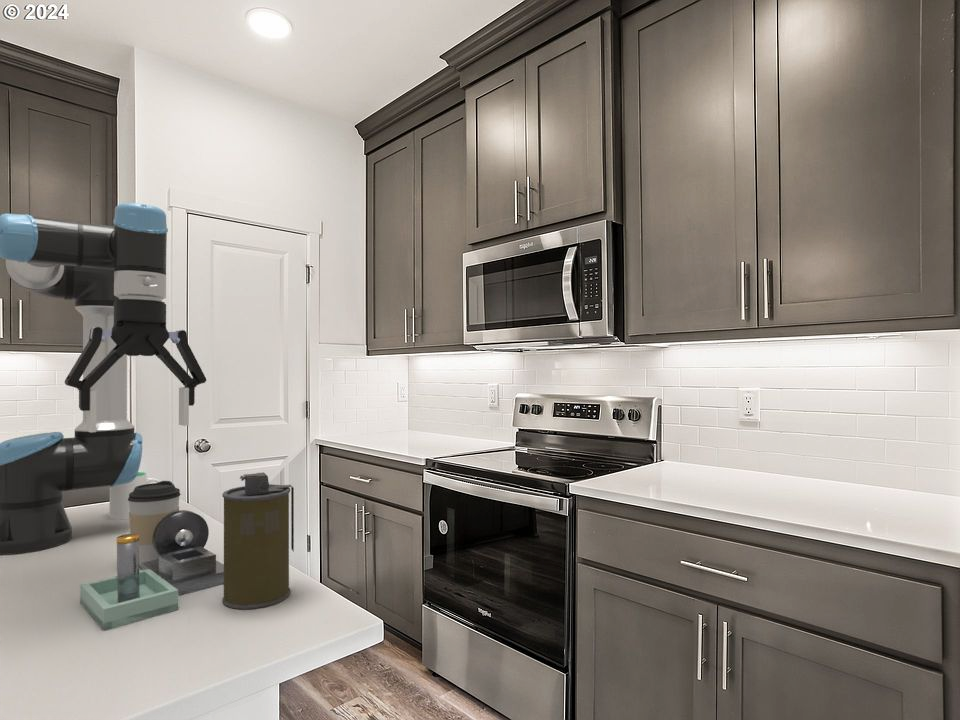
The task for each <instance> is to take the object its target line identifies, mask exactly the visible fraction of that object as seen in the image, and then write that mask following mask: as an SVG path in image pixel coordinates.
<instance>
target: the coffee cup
mask: <svg viewBox="0 0 960 720" xmlns="http://www.w3.org/2000/svg"><path fill="white" fill-rule="evenodd" d="M159 481H160V482H158V483H157V482H155V483H154V482H153V483H152V482H151V483H148V484H145V485H140V486H137V487H135V489H134V491H133V492H131V493H130V494H129V498H128V501H129V506H130V512H129V518H130V519H129V527H130V534H139V568H141V563H142V562H147V561H151V560H156V559H159V554H158V553H157V552H156V551H155V549H154V547H153V543H152V537H153V533H154V530H155V528H156V526H157V524H158V523H159V522H160V521H161V520H162V519H163V518H164V517H165V516H167V515H168V514H170V513H172V512H175V511H179V510H180V505H179V504H180V496H181V495H182V494H181V490H180V488H178V487H176V486H175V485H174V483H173V482H172V481H170V480H159Z"/></svg>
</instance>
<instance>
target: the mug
mask: <svg viewBox="0 0 960 720" xmlns="http://www.w3.org/2000/svg"><path fill="white" fill-rule="evenodd" d="M160 481H161V480H159V479H158V478H154V477H147V472H142V471H138V473H137V476H136V478H135V479H134V480H133V481H132V482H130V483H127V484H120V485H114V486H113V487H110V486H109V519H110V520H116V521H121V520H130V518H129V512H130V506H129V501H128V498H129V494H130V493H131V492H133V491H134V489H135V487H137V486H140V485H145V484H150V483H152V482H155V483H158V482H160Z"/></svg>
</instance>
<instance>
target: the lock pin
mask: <svg viewBox="0 0 960 720" xmlns="http://www.w3.org/2000/svg"><path fill="white" fill-rule="evenodd" d="M139 571H140V567H139V534H131V533H127V534H121V535H119V536H116V576H117V602H118V603H121V602H125V601H129V600H133V599H137V598H140V583H139Z"/></svg>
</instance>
